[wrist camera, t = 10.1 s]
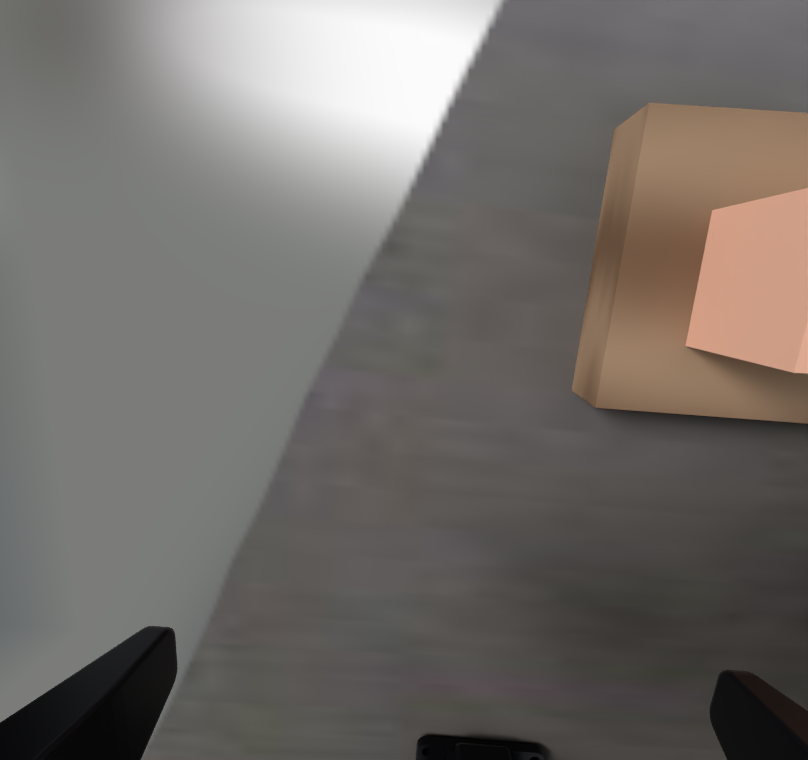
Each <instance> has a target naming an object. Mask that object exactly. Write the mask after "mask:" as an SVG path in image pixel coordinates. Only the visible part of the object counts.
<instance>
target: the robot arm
mask: <svg viewBox="0 0 808 760" xmlns="http://www.w3.org/2000/svg"><path fill="white" fill-rule="evenodd" d="M176 674H177V656H176V641H175V633H174V631H173V629H172V628H170V627H160V626H148V627H145V628H143V629H142V630H140V631H139V632H137V633H135V634H134V635H132V636H131V637H129V638H128V639H126V640H125V641H123V642H122V643H121V644H119V645H117V646H116V647H114V648H113V649H111V650H110V651H108V652H107V653H105V654H104V655H102V656H101V657H99V658H98V659H96V660H95V661H93V662H91V663H90V664H88V665H87V666H85V667H84V668H82V669H81V670H80V671H78V672H76V673H75V674H74V675H72V676H70V677H69V678H67V679H66V680H64V681H63V682H61V683H60V684H58V685H57V686H55V687H54V688H52V689H50V690H49V691H47V692H46V693H44V694H43V695H41V696H40V697H38V698H37V699H35V700H34V701H32V702H31V703H29V704H28V705H26V706H25V707H23V708H22V709H20V710H19V711H17V712H16V713H14V714H13V715H11V716H9V717H8V718H7V719H5V720H3V721H2V722H0V760H141V758H142V756H143V753H144V751H145V749H146V746H147V744H148V742H149V739H150V737H151V735H152V733H153V730H154V728H155V726H156V723H157V721H158V719H159V717H160V714H161V712H162V710H163V707H164V705H165V703H166V700H167V698H168V696H169V694H170V691H171V689H172V687H173V684H174V682H175V678H176ZM710 719H711V723H712V726H713V729H714V731H715V733H716V736H717V738H718V740H719V742H720V744H721V747H722V749H723V751H724V753H725V756H726V758H727V760H808V711H807V710H805V709H804V708H802V707H801V706H799V705H798V704H797V703H795V702H794V701H792V700H791V699H789V698H788V697H786V696H785V695H784V694H782V693H781V692H779V691H778V690H776V689H775V688H773V687H772V686H771V685H769V684H768V683H766V682H765V681H763V680H762V679H760V678H759V677H758V676H756V675H754V674H753V673H750V672H747V671H736V670H723V671H722V672H721V673H720V674H719V677H718V680H717V684H716V687H715V691H714V694H713V698H712V701H711V705H710ZM416 760H544V756H543V752H542V749H541V748H540V747H539V746H537V745H532V744H520V743H507V742H495V741H482V740H470V739H458V738H445V737H433V736H423V737H421V738H420V739H419V740H418V742H417V749H416Z"/></svg>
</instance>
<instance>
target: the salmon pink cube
mask: <svg viewBox="0 0 808 760" xmlns="http://www.w3.org/2000/svg"><path fill="white" fill-rule="evenodd" d="M685 346H688V347H692V348H696V349H700V350H704V351H708V352H712V353H716V354H720V355H724V356H728V357H732V358H736V359H740V360H744V361H748V362H752V363H756V364H760V365H764V366H768V367H772V368H776V369H781V370H785V371H789V372H793V373H807V374H808V188H806V189H801V190H797V191H793V192H788V193H784V194H780V195H775V196H771V197H767V198H763V199H758V200H754V201H750V202H745V203H741V204H737V205H733V206H728V207H724V208H720V209H715V210H712V214H711V219H710V224H709V229H708V234H707V239H706V244H705V249H704V254H703V259H702V264H701V269H700V275H699V280H698V285H697V290H696V295H695V300H694V305H693V310H692V315H691V320H690V325H689V330H688V335H687V340H686V345H685Z"/></svg>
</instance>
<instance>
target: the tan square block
mask: <svg viewBox="0 0 808 760" xmlns="http://www.w3.org/2000/svg"><path fill="white" fill-rule="evenodd" d="M806 188H808V113H800V112H784V111H769V110H753V109H737V108H722V107H706V106H691V105H675V104H659V103H648V104H647V105H646V106H644V107H643V108H642V109H640V110H639V111H638V112H637V113H635V114H634V115H633V116H631V117H630V118H629V119H627V120H626V121H625V122H623V123H622V124H621V125H619V126H618V127H617V128H615V129H614V135H613V141H612V147H611V153H610V159H609V165H608V172H607V178H606V184H605V190H604V196H603V202H602V208H601V215H600V221H599V227H598V233H597V239H596V245H595V251H594V257H593V264H592V270H591V276H590V282H589V288H588V294H587V300H586V307H585V313H584V319H583V325H582V331H581V337H580V343H579V350H578V356H577V362H576V368H575V374H574V380H573V386H572V391H573V392H574V393H576V394H577V395H578V396H580V397H581V398H583V399H584V400H585V401H587V402H588V403H589V404H591V405H592V406H594V407H595V408H606V409H619V410H633V411H646V412H660V413H673V414H687V415H700V416H713V417H727V418H740V419H754V420H767V421H781V422H794V423H808V374H807V373H793V372H789V371H785V370H781V369H776V368H772V367H768V366H764V365H760V364H756V363H752V362H748V361H744V360H740V359H736V358H732V357H728V356H724V355H720V354H716V353H712V352H708V351H704V350H700V349H696V348H692V347H688V346H685V345H686V340H687V335H688V330H689V325H690V320H691V315H692V310H693V305H694V300H695V295H696V290H697V285H698V280H699V275H700V269H701V264H702V259H703V254H704V249H705V244H706V239H707V234H708V229H709V224H710V219H711V214H712V210H715V209H720V208H724V207H728V206H733V205H737V204H741V203H745V202H750V201H754V200H758V199H763V198H767V197H771V196H775V195H780V194H784V193H788V192H793V191H797V190H801V189H806Z"/></svg>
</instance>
